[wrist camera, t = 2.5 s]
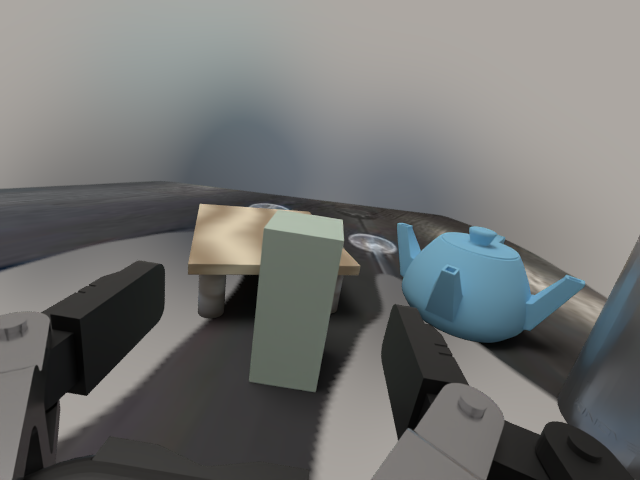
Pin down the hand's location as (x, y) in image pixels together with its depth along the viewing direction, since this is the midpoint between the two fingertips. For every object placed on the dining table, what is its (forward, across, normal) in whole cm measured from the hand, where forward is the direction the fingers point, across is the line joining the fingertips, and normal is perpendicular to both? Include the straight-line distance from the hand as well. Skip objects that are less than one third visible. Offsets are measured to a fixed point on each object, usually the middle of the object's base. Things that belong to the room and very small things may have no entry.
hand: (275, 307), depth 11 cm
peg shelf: (+27, +5, +12) cm, 30 cm away
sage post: (+12, 0, +12) cm, 17 cm away
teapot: (+25, -19, +12) cm, 33 cm away
